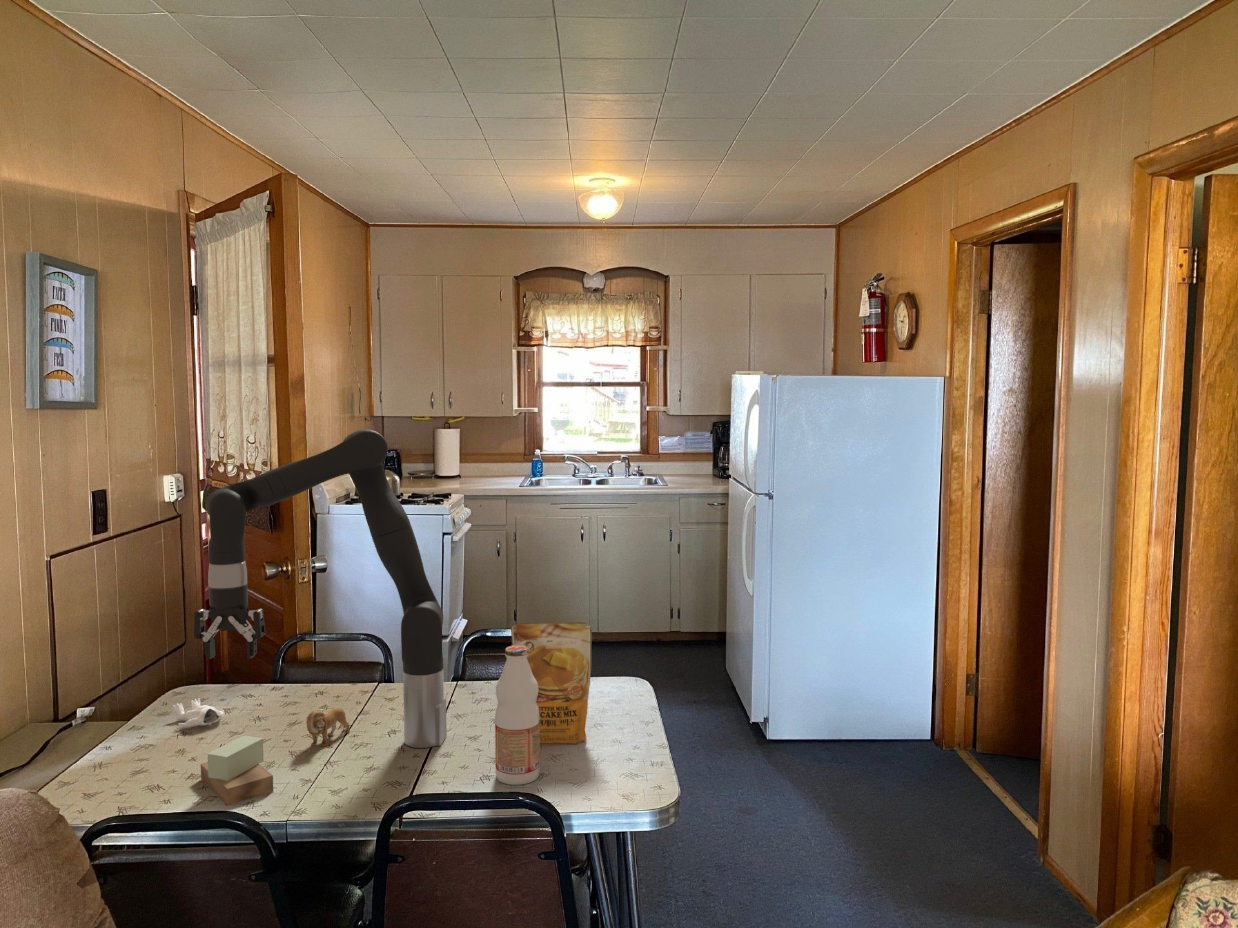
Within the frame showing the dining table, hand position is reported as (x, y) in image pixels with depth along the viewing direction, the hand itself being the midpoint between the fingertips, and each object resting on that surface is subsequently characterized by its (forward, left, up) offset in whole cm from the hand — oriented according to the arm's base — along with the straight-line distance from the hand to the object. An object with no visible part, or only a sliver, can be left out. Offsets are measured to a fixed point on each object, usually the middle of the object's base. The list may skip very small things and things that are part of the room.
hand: (230, 657), depth 184 cm
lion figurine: (-14, -18, -26) cm, 34 cm away
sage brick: (-3, +6, -22) cm, 23 cm away
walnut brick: (-3, +6, -26) cm, 27 cm away
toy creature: (+23, -28, -26) cm, 44 cm away
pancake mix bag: (-66, -21, -26) cm, 74 cm away
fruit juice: (-61, -1, -26) cm, 67 cm away
